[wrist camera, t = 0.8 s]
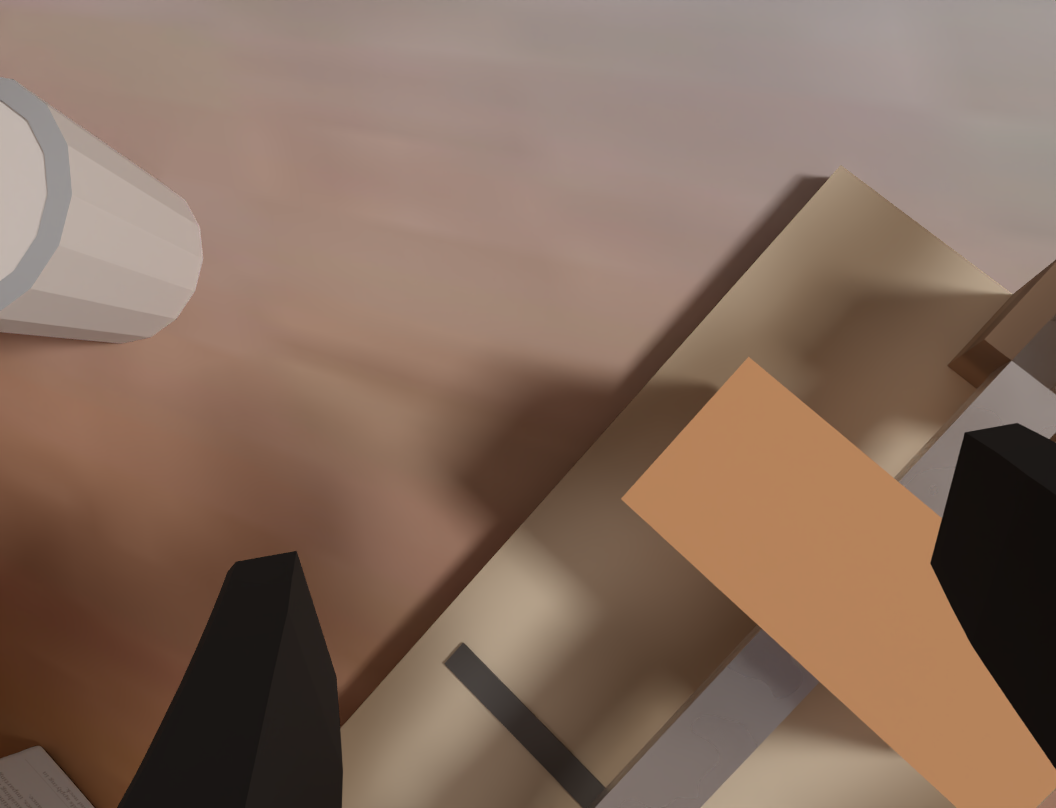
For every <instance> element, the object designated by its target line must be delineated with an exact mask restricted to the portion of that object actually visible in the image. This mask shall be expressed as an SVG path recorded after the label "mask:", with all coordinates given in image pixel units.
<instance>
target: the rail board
mask: <svg viewBox="0 0 1056 808" xmlns="http://www.w3.org/2000/svg"><path fill="white" fill-rule="evenodd" d="M1055 314H1056V260H1055V261H1054V262H1053V263H1051V264H1050V265H1049V266H1048V267H1046V268H1045V269H1044V270H1043V271H1041V272H1040V273H1039V274H1038V275H1036V276H1035V277H1034V278H1033V279H1031V280H1030V281H1029V282H1028V283H1026V284H1025V285H1024V286H1023V287H1021V288H1020V289H1019V290H1018V291H1016V292H1015V293H1014V294H1012V293H1010V292H1009V291H1008V290H1006V289H1005V288H1004V287H1002V286H1001V285H1000V284H998V283H997V282H996V281H994V280H993V279H992V278H990V277H989V276H988V275H986V274H985V273H984V272H982V271H981V270H980V269H978V268H977V267H976V266H974V265H973V264H972V263H970V262H969V261H968V260H966V259H965V258H964V257H962V256H961V255H960V254H958V253H957V252H956V251H954V250H953V249H952V248H950V247H949V246H948V245H946V244H945V243H944V242H942V241H941V240H940V239H938V238H937V237H936V236H934V235H933V234H932V233H930V232H929V231H928V230H926V229H925V228H924V227H922V226H921V225H920V224H918V223H917V222H916V221H914V220H913V219H912V218H910V217H909V216H908V215H906V214H905V213H904V212H902V211H901V210H900V209H898V208H897V207H896V206H894V205H893V204H892V203H890V202H889V201H888V200H886V199H885V198H884V197H882V196H881V195H880V194H878V193H877V192H876V191H874V190H873V189H872V188H870V187H869V186H868V185H866V184H865V183H864V182H862V181H861V180H860V179H858V178H857V177H856V176H854V175H853V174H852V173H850V172H849V171H848V170H846V169H845V168H844V167H842V166H841V165H840V167H839V168H838V169H837V170H836V171H835V172H834V173H833V174H832V176H831V177H830V178H829V179H828V180H827V181H826V182H825V183H824V185H823V186H822V187H821V188H820V189H819V190H818V191H817V192H816V194H815V195H814V196H813V197H812V198H811V199H810V200H809V201H808V203H807V204H806V205H805V206H804V207H803V208H802V209H801V210H800V212H799V213H798V214H797V215H796V216H795V217H794V218H793V219H792V221H791V222H790V223H789V224H788V225H787V226H786V227H785V229H784V230H783V231H782V232H781V233H780V234H779V235H778V236H777V238H776V239H775V240H774V241H773V242H772V243H771V244H770V245H769V247H768V248H767V249H766V250H765V251H764V252H763V253H762V254H761V256H760V257H759V258H758V259H757V260H756V261H755V262H754V263H753V265H752V266H751V267H750V268H749V269H748V270H747V271H746V272H745V274H744V275H743V276H742V277H741V278H740V279H739V280H738V281H737V283H736V284H735V285H734V286H733V287H732V288H731V289H730V290H729V292H728V293H727V294H726V295H725V296H724V297H723V298H722V299H721V301H720V302H719V303H718V304H717V305H716V306H715V307H714V308H713V310H712V311H711V312H710V313H709V314H708V315H707V316H706V317H705V319H704V320H703V321H702V322H701V323H700V324H699V325H698V326H697V328H696V329H695V330H694V331H693V332H692V333H691V334H690V335H689V337H688V338H687V339H686V340H685V341H684V342H683V343H682V344H681V346H680V347H679V348H678V349H677V350H676V351H675V352H674V353H673V355H672V356H671V357H670V358H669V359H668V360H667V361H666V362H665V364H664V365H663V366H662V367H661V368H660V369H659V370H658V371H657V373H656V374H655V375H654V376H653V377H652V378H651V379H650V380H649V382H648V383H647V384H646V385H645V386H644V387H643V388H642V389H641V391H640V392H639V393H638V394H637V395H636V396H635V397H634V399H633V400H632V401H631V402H630V403H629V404H628V405H627V406H626V408H625V409H624V410H623V411H622V412H621V413H620V414H619V415H618V417H617V418H616V419H615V420H614V421H613V422H612V423H611V424H610V426H609V427H608V428H607V429H606V430H605V431H604V432H603V433H602V435H601V436H600V437H599V438H598V439H597V440H596V441H595V442H594V444H593V445H592V446H591V447H590V448H589V449H588V450H587V451H586V453H585V454H584V455H583V456H582V457H581V458H580V459H579V460H578V462H577V463H576V464H575V465H574V466H573V467H572V468H571V469H570V471H569V472H568V473H567V474H566V475H565V476H564V477H563V478H562V480H561V481H560V482H559V483H558V484H557V485H556V486H555V487H554V489H553V490H552V491H551V492H550V493H549V494H548V495H547V496H546V498H545V499H544V500H543V501H542V502H541V503H540V504H539V505H538V507H537V508H536V509H535V510H534V511H533V512H532V513H531V514H530V516H529V517H528V518H527V519H526V520H525V521H524V522H523V523H522V525H521V526H520V527H519V528H518V529H517V530H516V531H515V532H514V534H513V535H512V536H511V537H510V538H509V539H508V540H507V541H506V543H505V544H504V545H503V546H502V547H501V548H500V549H499V550H498V552H497V553H496V554H495V555H494V556H493V557H492V558H491V559H490V561H489V562H488V563H487V564H486V565H485V566H484V567H483V569H482V570H481V571H480V572H479V573H478V574H477V575H476V576H475V578H474V579H473V580H472V581H471V582H470V583H469V584H468V585H467V587H466V588H465V589H464V590H463V591H462V592H461V593H460V594H459V596H458V597H457V598H456V599H455V600H454V601H453V602H452V603H451V605H450V606H449V607H448V608H447V609H446V610H445V611H444V612H443V614H442V615H441V616H440V617H439V618H438V619H437V620H436V621H435V623H434V624H433V625H432V626H431V627H430V628H429V629H428V630H427V632H426V633H425V634H424V635H423V636H422V637H421V638H420V639H419V641H418V642H417V643H416V644H415V645H414V646H413V647H412V648H411V650H410V651H409V652H408V653H407V654H406V655H405V656H404V657H403V659H402V660H401V661H400V662H399V663H398V664H397V665H396V666H395V668H394V669H393V670H392V671H391V672H390V673H389V674H388V675H387V677H386V678H385V679H384V680H383V681H382V682H381V683H380V684H379V686H378V687H377V688H376V689H375V690H374V691H373V692H372V693H371V695H370V696H369V697H368V698H367V699H366V700H365V701H364V702H363V704H362V705H361V706H360V707H359V708H358V709H357V710H356V711H355V713H354V714H353V715H352V716H351V717H350V718H349V719H348V720H347V722H346V723H345V724H344V725H343V726H342V727H341V728H340V732H341V747H342V763H343V788H342V808H587V807H588V806H589V805H590V804H591V803H592V801H593V800H594V799H595V798H596V797H597V796H598V795H599V794H600V793H601V792H602V791H603V790H604V789H605V788H606V786H607V785H608V784H609V783H610V782H611V781H612V780H613V779H614V778H615V777H616V776H617V775H618V774H619V772H620V771H621V770H622V769H623V768H624V767H625V766H626V765H627V764H628V763H629V762H630V761H631V760H632V759H633V757H634V756H635V755H636V754H637V753H638V752H639V751H640V750H641V749H642V748H643V747H644V746H645V745H646V744H647V742H648V741H649V740H650V739H651V738H652V737H653V736H654V735H655V734H656V733H657V732H658V731H659V730H660V728H661V727H662V726H663V725H664V724H665V723H666V722H667V721H668V720H669V719H670V718H671V717H672V716H673V715H674V713H675V712H676V711H677V710H678V709H679V708H680V707H681V706H682V705H683V704H684V703H685V702H686V701H687V699H688V698H689V697H690V696H691V695H692V694H693V693H694V692H695V691H696V690H697V689H698V688H699V687H700V686H701V684H702V683H703V682H704V681H705V680H706V679H707V678H708V677H709V676H710V675H711V674H712V673H713V672H714V670H715V669H716V668H717V667H718V666H719V665H720V664H721V663H722V662H723V661H724V660H725V659H726V658H727V657H728V655H729V654H730V653H731V652H732V651H733V650H734V649H735V648H736V647H737V646H738V645H739V644H740V643H741V641H742V640H743V639H744V638H745V637H746V636H747V635H748V634H749V633H750V632H751V631H752V630H753V629H754V628H755V626H756V625H757V624H756V623H755V622H754V621H753V620H752V619H751V618H750V617H749V616H748V615H747V614H745V613H744V612H743V611H742V610H741V609H740V608H739V607H738V606H737V605H736V604H735V603H734V602H732V601H731V600H730V599H729V598H728V597H727V596H726V595H725V594H724V593H723V592H722V591H720V590H719V589H718V588H717V587H716V586H715V585H714V584H713V583H712V582H711V581H710V580H709V579H707V578H706V577H705V576H704V575H703V574H702V573H701V572H700V571H699V570H698V569H697V568H695V567H694V566H693V565H692V564H691V563H690V562H689V561H688V560H687V559H686V558H685V557H684V556H682V555H681V554H680V553H679V552H678V551H677V550H676V549H675V548H674V547H673V546H672V545H670V544H669V543H668V542H667V541H666V540H665V539H664V538H663V537H662V536H661V535H660V534H658V533H657V532H656V531H655V530H654V529H653V528H652V527H651V526H650V525H649V524H648V523H647V522H645V521H644V520H643V519H642V518H641V517H640V516H639V515H638V514H637V513H636V512H635V511H633V510H632V509H631V508H630V507H629V506H628V505H627V504H626V503H625V502H624V501H623V500H622V499H621V498H622V497H623V496H624V495H625V494H626V493H627V491H628V490H629V489H630V488H631V487H632V486H633V485H634V484H635V483H636V481H637V480H638V479H639V478H640V477H641V476H642V475H643V474H644V473H645V471H646V470H647V469H648V468H649V467H650V466H651V465H652V464H653V463H654V461H655V460H656V459H657V458H658V457H659V456H660V455H661V454H662V453H663V451H664V450H665V449H666V448H667V447H668V446H669V445H670V444H671V442H672V441H673V440H674V439H675V438H676V437H677V436H678V435H679V434H680V432H681V431H682V430H683V429H684V428H685V427H686V426H687V425H688V424H689V422H690V421H691V420H692V419H693V418H694V417H695V416H696V415H697V414H698V412H699V411H700V410H701V409H702V408H703V407H704V406H705V405H706V404H707V402H708V401H709V400H710V399H711V398H712V397H713V396H714V395H715V394H716V392H717V391H718V390H719V389H720V388H721V387H722V386H723V385H724V383H725V382H726V381H727V380H728V379H729V378H730V377H731V376H732V375H733V373H734V372H735V371H736V370H737V369H738V368H739V367H740V366H741V365H742V363H743V362H744V361H745V360H746V359H747V358H748V357H750V358H751V359H752V360H753V361H754V362H756V363H757V364H758V365H759V366H760V367H762V368H763V369H764V370H765V371H766V372H768V373H769V374H770V375H771V376H772V377H774V378H775V379H776V380H777V381H778V382H780V383H781V384H782V385H783V386H784V387H786V388H787V389H788V390H789V391H790V392H791V393H793V394H794V395H795V396H796V397H797V398H799V399H800V400H801V401H802V402H803V403H805V404H806V405H807V406H808V407H809V408H811V409H812V410H813V411H814V412H815V413H817V414H818V415H819V416H820V417H821V418H823V419H824V420H825V421H826V422H827V423H829V424H830V425H831V426H832V427H833V428H835V429H836V430H837V431H838V432H839V433H841V434H842V435H843V436H844V437H845V438H847V439H848V440H849V441H850V442H851V443H853V444H854V445H855V446H856V447H857V448H859V449H860V450H861V451H862V452H863V453H865V454H866V455H867V456H868V457H869V458H870V459H872V460H873V461H874V462H875V463H876V464H878V465H879V466H880V467H881V468H882V469H884V470H885V471H886V472H887V473H888V474H890V475H891V476H892V477H893V478H894V477H895V476H896V475H897V474H898V473H899V472H900V471H901V470H902V469H903V468H904V466H905V465H906V464H907V463H908V462H909V461H910V460H911V459H912V458H913V457H914V456H915V455H916V454H917V452H918V451H919V450H920V449H921V448H922V447H923V446H924V445H925V444H926V443H927V442H928V441H929V440H930V439H931V437H932V436H933V435H934V434H935V433H936V432H937V431H938V430H939V429H940V428H941V427H942V426H943V425H944V423H945V422H946V421H947V420H948V419H949V418H950V417H951V416H952V415H953V414H954V413H955V412H956V411H957V410H958V408H959V407H960V406H961V405H962V404H963V403H964V402H965V401H966V400H967V399H968V398H969V397H970V396H971V394H972V393H973V392H974V391H975V390H976V389H977V388H978V387H979V386H980V385H981V384H982V383H983V382H984V381H985V379H986V378H987V377H988V376H989V375H990V374H991V373H992V372H993V371H994V370H995V369H997V368H999V367H1001V366H1003V365H1005V364H1007V363H1008V362H1010V361H1014V360H1015V359H1016V358H1017V357H1018V356H1017V354H1018V353H1020V354H1021V355H1022V354H1023V353H1024V355H1025V353H1026V351H1027V350H1029V349H1030V350H1029V351H1028V352H1027V353H1029V355H1028V354H1027V355H1028V356H1024V355H1023V356H1021V355H1020V354H1018V355H1020V356H1021V357H1018V358H1017V359H1016V360H1015V361H1016V362H1018V361H1020V362H1021V363H1020V362H1018V363H1016V362H1015V361H1014V362H1015V364H1017V365H1018V364H1019V363H1020V364H1021V365H1022V364H1023V365H1024V366H1023V365H1022V366H1023V367H1025V364H1026V366H1027V367H1026V368H1023V367H1021V365H1019V367H1021V368H1023V369H1024V370H1025V369H1027V370H1025V371H1026V372H1027V373H1028V372H1031V371H1032V372H1033V370H1034V373H1035V376H1037V375H1036V374H1039V375H1038V376H1039V377H1040V378H1039V377H1035V376H1034V378H1035V379H1036V378H1039V379H1038V380H1039V382H1040V383H1041V384H1043V385H1044V383H1042V382H1044V380H1046V379H1047V380H1048V379H1049V380H1050V379H1053V378H1054V379H1055V380H1054V379H1053V380H1052V381H1051V380H1050V381H1051V382H1050V381H1049V380H1048V381H1049V382H1048V381H1047V380H1046V381H1045V382H1047V384H1048V385H1047V384H1045V385H1046V386H1045V385H1044V386H1045V387H1047V388H1048V389H1049V390H1050V388H1049V387H1051V388H1052V389H1051V391H1052V392H1053V393H1054V394H1056V389H1055V388H1056V387H1055V386H1056V375H1055V374H1056V371H1055V370H1056V364H1055V363H1056V361H1054V360H1056V357H1055V358H1054V356H1056V353H1054V352H1056V335H1055V334H1056V327H1055V328H1052V325H1054V326H1056V324H1055V323H1056V321H1055V320H1056V315H1055ZM1052 317H1053V318H1052ZM1050 319H1051V320H1050ZM1054 319H1055V320H1054ZM1049 320H1050V321H1051V322H1050V321H1049ZM1048 321H1049V322H1048ZM1047 322H1048V324H1047ZM1053 322H1054V323H1053ZM1049 323H1051V326H1050V325H1049ZM1045 324H1046V326H1047V325H1048V326H1047V327H1048V328H1047V329H1048V331H1046V330H1047V329H1046V328H1045V327H1046V326H1045ZM1054 326H1053V327H1054ZM1043 327H1044V328H1043ZM1042 328H1043V329H1044V330H1043V331H1044V332H1043V331H1042V330H1041V329H1042ZM1049 328H1051V329H1049ZM1045 329H1046V330H1045ZM1054 329H1055V330H1054ZM1053 330H1054V332H1055V333H1054V332H1053V333H1054V334H1053V333H1051V331H1053ZM1039 331H1040V332H1039ZM1041 331H1042V333H1041ZM1045 331H1046V332H1047V335H1049V336H1051V335H1052V336H1051V337H1048V336H1047V335H1046V334H1045ZM1038 332H1039V334H1038ZM1048 332H1050V333H1051V334H1050V333H1048ZM1043 333H1044V334H1043ZM1039 335H1040V336H1039ZM1042 335H1044V336H1042ZM1053 335H1055V336H1053ZM1034 336H1035V337H1034ZM1046 336H1047V337H1046ZM1036 337H1037V338H1036ZM1041 337H1042V339H1041ZM1038 338H1039V339H1038ZM1045 338H1046V341H1047V340H1048V342H1049V343H1051V344H1050V346H1049V345H1048V344H1049V343H1048V342H1047V343H1046V341H1045ZM1048 338H1049V339H1048ZM1052 338H1053V339H1054V338H1055V339H1054V340H1055V341H1054V340H1053V339H1052ZM1036 339H1038V340H1039V341H1038V340H1036ZM1040 339H1041V340H1040ZM1043 339H1044V340H1043ZM1051 339H1052V340H1051ZM1033 340H1034V341H1033ZM1035 340H1036V341H1037V342H1036V341H1035ZM1030 341H1031V342H1030ZM1041 341H1042V342H1041ZM1052 341H1053V343H1052ZM1038 342H1041V343H1040V344H1041V345H1040V344H1038ZM1043 342H1044V343H1043ZM1034 343H1037V344H1036V345H1035V344H1034ZM1045 343H1046V344H1047V345H1046V344H1045ZM1054 343H1055V344H1054ZM1027 344H1028V345H1027ZM1031 344H1033V346H1032V345H1031ZM1044 344H1045V345H1046V346H1047V347H1048V348H1047V347H1046V346H1045V345H1044ZM1052 344H1054V346H1055V347H1053V345H1052ZM1037 345H1038V346H1040V347H1041V346H1043V345H1044V347H1043V348H1042V347H1041V348H1039V347H1038V346H1037ZM1025 346H1026V347H1027V346H1028V347H1027V348H1026V347H1025ZM1029 346H1030V347H1029ZM1031 347H1032V348H1031ZM1034 347H1035V348H1036V347H1038V348H1039V350H1038V348H1037V349H1036V350H1035V348H1034ZM1049 347H1050V348H1049ZM1023 348H1025V349H1023ZM1033 348H1034V350H1035V351H1037V352H1035V351H1034V350H1032V349H1033ZM1046 348H1047V349H1046ZM1054 348H1055V349H1054ZM1042 349H1043V350H1042ZM1044 349H1045V350H1046V351H1047V353H1048V352H1049V351H1050V352H1049V353H1048V354H1050V353H1052V354H1054V356H1053V355H1052V354H1050V355H1049V356H1050V357H1049V356H1048V355H1042V354H1045V353H1046V351H1044ZM1021 350H1025V351H1024V352H1023V351H1022V352H1023V353H1021V352H1020V351H1021ZM1031 350H1032V351H1033V352H1034V353H1035V354H1033V352H1031ZM1041 350H1042V351H1043V352H1042V351H1041ZM1054 350H1055V351H1054ZM1040 351H1041V352H1040ZM1051 351H1052V352H1051ZM1038 352H1039V353H1038ZM1030 353H1032V355H1031V354H1030ZM1036 353H1037V355H1038V354H1040V355H1041V356H1042V357H1043V358H1042V357H1040V355H1039V356H1038V359H1040V358H1042V359H1043V360H1042V359H1040V361H1041V360H1042V361H1041V362H1040V361H1039V360H1038V359H1037V357H1036V356H1037V355H1036ZM1047 353H1046V354H1047ZM1034 355H1035V356H1034ZM1029 356H1030V357H1029ZM1031 356H1032V357H1031ZM1045 356H1047V359H1046V357H1045ZM1052 356H1053V357H1052ZM1023 357H1024V358H1023ZM1034 357H1035V358H1036V359H1035V358H1034ZM1048 357H1049V358H1051V359H1050V360H1052V359H1054V360H1053V361H1054V362H1055V363H1054V362H1053V361H1051V362H1050V361H1049V360H1048V359H1049V358H1048ZM1014 358H1015V359H1014ZM1019 358H1020V359H1019ZM1021 358H1023V359H1022V360H1021ZM1025 358H1029V359H1028V360H1027V359H1025ZM1030 358H1031V359H1030ZM1024 359H1025V360H1026V361H1027V362H1028V363H1027V362H1026V361H1025V360H1024ZM1032 359H1033V360H1034V359H1035V360H1034V361H1035V362H1034V363H1033V362H1031V361H1033V360H1032ZM1017 360H1018V361H1017ZM1029 360H1031V361H1029ZM1044 360H1048V361H1047V362H1050V363H1052V364H1050V365H1051V366H1050V365H1049V364H1048V363H1046V362H1045V361H1044ZM1022 361H1023V362H1024V363H1025V362H1026V363H1025V364H1024V363H1023V362H1022ZM1037 361H1038V362H1037ZM1029 362H1031V363H1032V365H1031V366H1032V367H1035V368H1034V369H1033V370H1029V369H1031V368H1032V367H1030V366H1029V364H1031V363H1029ZM1036 362H1037V363H1036ZM1039 362H1040V363H1039ZM1043 362H1044V363H1043ZM1038 363H1039V364H1038ZM1042 363H1043V364H1044V366H1042V365H1043V364H1042ZM1053 363H1054V364H1055V365H1054V364H1053ZM1033 364H1034V366H1033ZM1035 364H1036V365H1035ZM1037 364H1038V365H1037ZM1046 364H1047V365H1046ZM1045 365H1046V366H1047V367H1048V369H1049V368H1050V367H1051V368H1050V369H1049V370H1050V371H1049V370H1048V369H1047V367H1046V366H1045ZM1048 365H1049V366H1048ZM1028 366H1029V367H1028ZM1041 366H1042V367H1041ZM1054 366H1055V368H1053V367H1054ZM1037 367H1038V368H1037ZM1043 367H1046V368H1043ZM1036 368H1037V369H1036ZM1039 368H1040V369H1039ZM1035 369H1036V370H1038V372H1039V373H1036V372H1037V371H1036V370H1035ZM1028 370H1029V371H1028ZM1046 370H1048V371H1047V372H1048V373H1047V372H1046ZM1035 371H1036V372H1035ZM1044 371H1045V373H1046V375H1048V376H1046V375H1045V373H1044ZM1052 371H1054V372H1055V373H1054V372H1052ZM1032 372H1031V373H1032ZM1050 372H1051V373H1050ZM1031 373H1030V375H1031V376H1033V375H1034V373H1033V374H1031ZM1040 373H1041V374H1042V373H1043V374H1044V375H1045V376H1043V374H1042V375H1041V374H1040ZM1052 373H1053V374H1052ZM1028 374H1029V373H1028ZM1040 375H1041V376H1040ZM1050 375H1051V376H1050ZM1054 375H1055V376H1054ZM1052 376H1054V377H1052ZM1042 377H1043V378H1042ZM1042 379H1044V380H1042ZM1036 380H1037V379H1036ZM1041 381H1042V382H1041ZM1054 382H1055V383H1054ZM1050 383H1051V384H1050ZM1052 384H1053V387H1052ZM1054 390H1055V391H1054ZM1050 440H1052V441H1054V442H1055V443H1056V433H1055V434H1054V435H1053V436H1052V437H1051V438H1050ZM1055 790H1056V788H1055V789H1054V790H1053V791H1052V792H1051V793H1050V794H1049V795H1048V796H1047V797H1046V798H1045V799H1044V800H1043V801H1042V802H1041V803H1040V804H1039V805H1038V806H1037V807H1036V808H1038V807H1039V806H1040V805H1041V804H1042V803H1043V802H1044V801H1045V800H1046V799H1047V798H1048V797H1049V796H1050V795H1051V794H1052V793H1053V792H1054V791H1055ZM701 808H956V807H955V806H954V805H953V804H952V803H951V802H950V801H949V800H948V799H947V798H946V797H944V796H943V795H942V794H941V793H940V792H939V791H938V790H937V789H936V788H935V787H934V786H933V785H931V784H930V783H929V782H928V781H927V780H926V779H925V778H924V777H923V776H922V775H921V774H919V773H918V772H917V771H916V770H915V769H914V768H913V767H912V766H911V765H910V764H909V763H907V762H906V761H905V760H904V759H903V758H902V757H901V756H900V755H899V754H898V753H897V752H896V751H894V750H893V749H892V748H891V747H890V746H889V745H888V744H887V743H886V742H885V741H884V740H882V739H881V738H880V737H879V736H878V735H877V734H876V733H875V732H874V731H873V730H872V729H871V728H869V727H868V726H867V725H866V724H865V723H864V722H863V721H862V720H861V719H860V718H859V717H857V716H856V715H855V714H854V713H853V712H852V711H851V710H850V709H849V708H848V707H847V706H846V705H844V704H843V703H842V702H841V701H840V700H839V699H838V698H837V697H836V696H835V695H834V694H832V693H831V692H830V691H829V690H828V689H827V688H826V687H825V686H824V685H823V684H822V683H821V682H819V683H818V684H817V685H816V686H815V687H814V688H813V689H812V690H811V692H810V693H809V694H808V695H807V696H806V697H805V698H804V699H803V700H802V701H801V702H800V703H799V704H798V705H797V706H796V707H795V708H794V709H793V711H792V712H791V713H790V714H789V715H788V716H787V717H786V718H785V719H784V720H783V721H782V722H781V723H780V724H779V725H778V726H777V727H776V728H775V730H774V731H773V732H772V733H771V734H770V735H769V736H768V737H767V738H766V739H765V740H764V741H763V742H762V743H761V744H760V745H759V746H758V748H757V749H756V750H755V751H754V752H753V753H752V754H751V755H750V756H749V757H748V758H747V759H746V760H745V761H744V762H743V763H742V764H741V765H740V767H739V768H738V769H737V770H736V771H735V772H734V773H733V774H732V775H731V776H730V777H729V778H728V779H727V780H726V781H725V782H724V783H723V784H722V786H721V787H720V788H719V789H718V790H717V791H716V792H715V793H714V794H713V795H712V796H711V797H710V798H709V799H708V800H707V801H706V802H705V803H704V805H703V806H702V807H701Z"/></svg>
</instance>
